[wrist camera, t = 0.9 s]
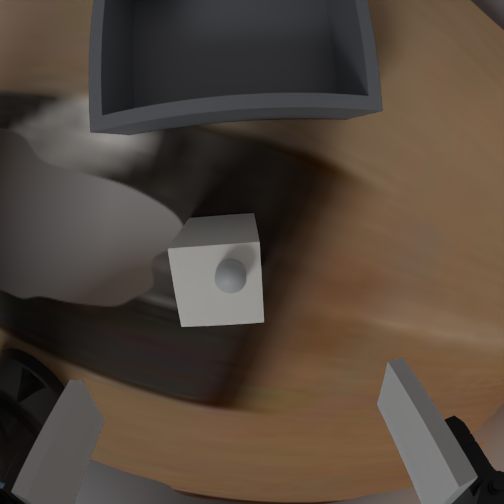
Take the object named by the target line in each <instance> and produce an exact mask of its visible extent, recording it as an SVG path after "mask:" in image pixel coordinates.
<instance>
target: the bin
mask: <svg viewBox="0 0 504 504" xmlns="http://www.w3.org/2000/svg"><path fill="white" fill-rule="evenodd" d="M381 111H383V109H382V96H381V86H380V76H379V67H378V59H377V52H376V45H375V39H374V32H373V27H372V21H371V16H370V10H369V6H368V1H367V0H94V1H93V10H92V20H91V33H90V50H89V114H90V132H93V133H108V134H122V135H133V134H139V133H145V132H151V131H157V130H163V129H170V128H178V127H185V126H194V125H203V124H212V123H223V122H236V121H251V120H272V119H342V120H346V119H350V118H354V117H358V116H363V115H367V114H371V113H376V112H381Z"/></svg>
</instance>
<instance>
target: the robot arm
mask: <svg viewBox="0 0 504 504" xmlns="http://www.w3.org/2000/svg"><path fill="white" fill-rule="evenodd" d="M377 405H378V408H379V410H380V412H381V414H382V416H383V418H384V420H385V422H386V425H387V427H388V429H389V431H390V433H391V435H392V438H393V440H394V442H395V444H396V446H397V449H398V451H399V453H400V455H401V457H402V460H403V462H404V464H405V467H406V469H407V471H408V473H409V476H410V478H411V480H412V483H413V485H414V487H415V489H416V492H417V494H418V497H419V499H420V502H421V504H504V472H501V471H496V470H495V469H494V468H493V467H492V466H491V464H490V463H489V461H488V460H487V458H486V456H485V455H484V453H483V451H482V450H481V448H480V447H479V445H478V443H477V442H476V441H475V439H474V437H473V436H472V434H470V431H469V429H468V428H467V426H466V425H465V423H464V422H463V421H461V420H460V419H458V418H457V417H456V416H452V417H450V418H447V419H445V420H444V419H443V417H442V416H441V414H440V412H439V411H438V409H437V408H436V406H435V405H434V403H433V401H432V400H431V398H430V397H429V395H428V394H427V392H426V391H425V389H424V388H423V386H422V385H421V383H420V382H419V380H418V379H417V377H416V376H415V374H414V373H413V371H412V370H411V368H410V367H409V365H408V364H407V362H406V361H405V360H404V358H400V359H396V360H392V361H388V363H387V367H386V371H385V376H384V380H383V384H382V388H381V392H380V396H379V399H378V403H377ZM104 422H105V420H104V418H103V417H102V415H101V413H100V411H99V410H98V408H97V406H96V404H95V402H94V401H93V399H92V397H91V395H90V393H89V391H88V389H87V387H86V385H85V383H84V381H79V380H70V381H69V382H68V384H67V386H66V387H65V389H64V387H63V386H62V384H61V383H60V382H59V381H58V379H57V378H56V377H55V376H54V375H53V374H52V373H51V372H50V371H49V370H48V369H47V368H46V367H45V366H44V365H42V364H41V363H40V362H39V361H37V360H36V359H34V358H33V357H31V356H30V355H28V354H26V353H24V352H22V351H19V350H15V349H6V350H4V351H3V352H2V353H1V354H0V504H75V501H76V498H77V495H78V492H79V489H80V486H81V483H82V480H83V478H84V475H85V472H86V469H87V466H88V463H89V461H90V458H91V455H92V453H93V450H94V447H95V445H96V442H97V440H98V437H99V434H100V432H101V429H102V427H103V424H104Z"/></svg>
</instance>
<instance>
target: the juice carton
mask: <svg viewBox="0 0 504 504" xmlns="http://www.w3.org/2000/svg"><path fill="white" fill-rule="evenodd" d="M168 255H169V261H170V267H171V273H172V279H173V285H174V290H175V296H176V301H177V306H178V311H179V316H180V321H181V326H182V327H188V326H212V325H231V324H247V323H261V322H264V312H263V294H262V275H261V258H260V241H259V236H258V231H257V226H256V221H255V216H254V213H247V214H233V215H220V216H208V217H196V218H189V219H188V221H187V222H186V224H185V225H184V226H183V228H182V229H181V230H180V232H179V233H178V235H177V236H176V237H175V239H174V240H173V242H172V243H171V245H170V246H169V247H168Z"/></svg>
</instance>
